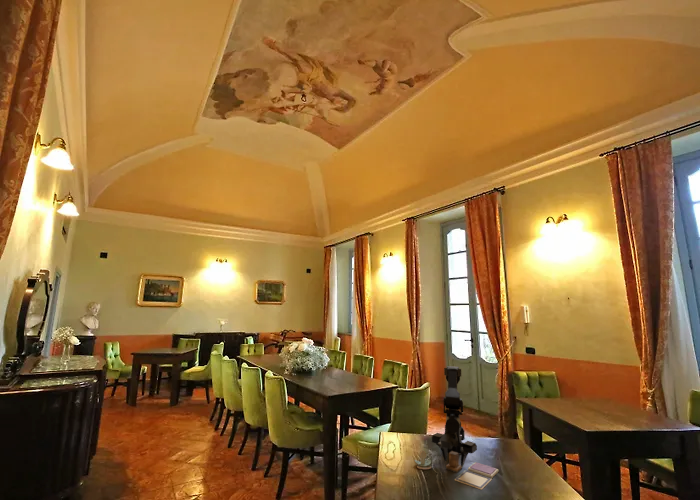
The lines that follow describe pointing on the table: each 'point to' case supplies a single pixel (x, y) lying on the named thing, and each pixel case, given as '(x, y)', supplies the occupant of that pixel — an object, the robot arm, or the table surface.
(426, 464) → the pacifier
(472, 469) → the ink pad
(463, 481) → the marked card
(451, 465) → the stamp
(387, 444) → the table surface
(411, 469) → the table surface
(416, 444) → the table surface
